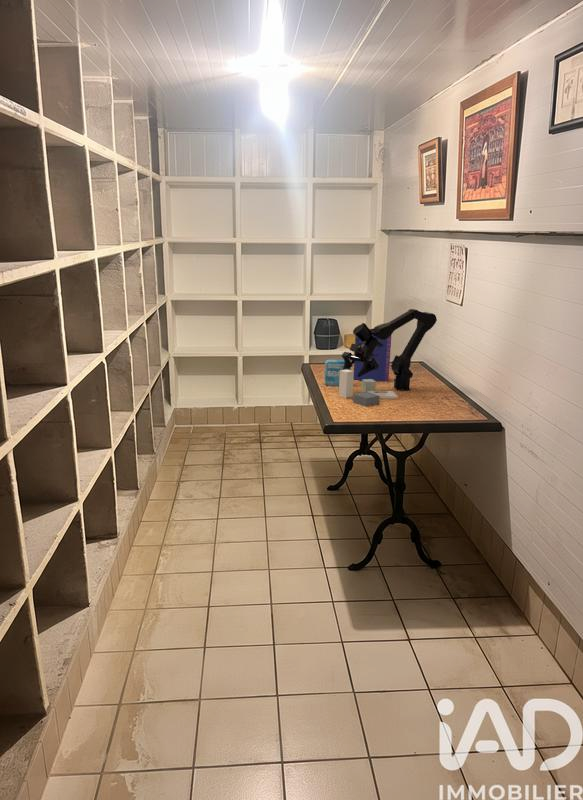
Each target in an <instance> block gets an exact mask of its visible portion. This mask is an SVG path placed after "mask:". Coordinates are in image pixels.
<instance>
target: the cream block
mask: <svg viewBox="0 0 583 800" xmlns="http://www.w3.org/2000/svg"><path fill="white" fill-rule="evenodd" d="M353 377H354V370H353V369H351V370H347V369H346V370H340V378H339V386H338V397H339V396H340V398H342V397H344V399H350V398H353V394H354V380H353ZM349 397H350V398H349Z"/></svg>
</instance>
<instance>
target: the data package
mask: <svg viewBox="0 0 583 800" xmlns="http://www.w3.org/2000/svg"><path fill="white" fill-rule="evenodd" d="M324 363H325V364H324V383H325V385H326V386H329V387H330V386H333V387H339V378H340V370H343V367H344V359H326V360H325V362H324ZM351 368H352V367H351ZM351 368H350V369H349V370H352V369H351ZM334 385H335V386H334Z"/></svg>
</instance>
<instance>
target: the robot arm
mask: <svg viewBox="0 0 583 800" xmlns="http://www.w3.org/2000/svg"><path fill="white" fill-rule="evenodd" d="M414 319H415V320H417V321H416V328H415V330H414V331H413V333H412V335H411V337H410V338H409V340H408V342H407V344H406V346H405V347H404V349H403V351H402V352H401V354H400V355H394V359H392V361H391V363H390V364H391V365H390V367H391V371H392V372H393V374H394V376H395V378H394V380H393V381H394V382H393V388H394V389H396V391H411V388H410V384H411V379H412V378H413V375H414V373H413V372H412V370H411V369H410V367H411V364H412V363H411V362H412V357H413V356H414V354H415V352H416V351H417V349H418V347H419V345H420V344H421V342H422V340H423V339H424V336H425V335H426V334H427V332H429V331H430V330H431V329H432V328H433V327H434V326H435V324H436V323H437V320H438V319H437V316H436V314H435V313H431V312H428V311H420V310H419V309H414V308H410V309H408V310H407V311H406V312H403V313H402V314H400V315H398V316H397V317H395V318H394V319H392V320H391V321H388V322H386V323H381V324H379V325H376V326H375V327H374V328H370V327H368V325H367V324H366V323H364V322H362V323H361V324H359V325H357V326H355V328H354V329H353V331H352V334H353V335H354V336H356V337H357V338H358V339H359V340H360V341H361V342H363V341H364V342H365V343H364V344H362V345H358V344H355V343H354V342H353V343H351V345H350V348H349V351H351V352H349V351H343V352H342V354H341V357H342V360H344V367H343V370H346V369H347V370H349V369H350V368H352V367H354V362H355V361H357V362H361V363H363V367H362V368H361V370H360V372H359V373H358V375H357V377H360V376H362V375H364V374H366V373H368V372H370V371H372V370H374V369H375V370H377V368H378V367H379V364H378V362H377V361H376V359H375V358H373V357H370V356H373V352H374V350H375V349H376V347H382V343H381V341H378V339H377V338H379V339H382V340H385V339H387V338H388V337H389V336H391V337H392V335H393V334H394V332H395V331H396V330H398V329H399V328H401V327H403V326H405V325H406V324H408V323H410V322H411V321H413V320H414ZM372 335H373V336H375V337H376V338H375V337H373V336H372ZM352 352H353V354H352ZM354 355H356V357H354Z"/></svg>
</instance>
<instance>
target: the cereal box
mask: <svg viewBox="0 0 583 800" xmlns="http://www.w3.org/2000/svg"><path fill="white" fill-rule="evenodd" d="M354 336H355V335H354ZM372 336H373V335H372ZM373 337H375V336H373ZM375 338H376V337H375ZM377 339H378V341H381V343H382V347H376V349H375V350H374V352H373V356H370V357H373V358H375V359H376V361H377V362H378V364H379V367H378V368H377V370H375V369H374V370H372V371H370V372H368V373H366V374H364V375H362V376H360V377H357V375H358V373H359V372H360V370H361V368H362V367H363V363H361V362H357V361H355V362H354V363H353V371H354V377H353V379H354V380H359V381H358V382H360V381H361V382H362V380H364V379H373V380H374V381H376V382H386V381H388V382H389V381H390V380H389V377H390V367H391V365H390V364H391V363H390V361H391V348H392V347H391V346H392V335H391V336H389V337H388V338H387V339H385V340H382V339H379V338H377ZM364 343H365V342H364V341H363V342H361V341H360V340H359V339H358V338H357V337H356V336H355V337H354V344H358V345H362V344H364ZM353 356H354V357H356V355H354V354H353ZM354 380H353V381H354Z"/></svg>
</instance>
